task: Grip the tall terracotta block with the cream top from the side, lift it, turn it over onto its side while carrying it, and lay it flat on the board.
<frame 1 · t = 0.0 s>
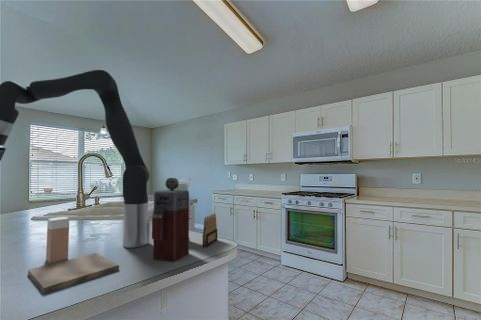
block: (57, 259, 81), on the counter
board: (74, 272, 70), on the counter
ammunition clip: (210, 244, 97), on the counter
skyscraper: (180, 243, 100), on the counter
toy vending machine: (169, 257, 82), on the counter
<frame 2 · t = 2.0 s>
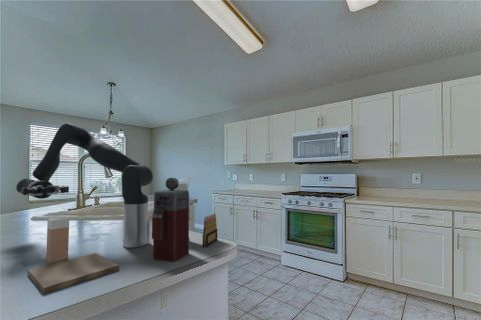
hand: (50, 191, 89), 23 cm above the counter, tool horizontal, fingers open, 8 cm apart
nothing on the counter moved.
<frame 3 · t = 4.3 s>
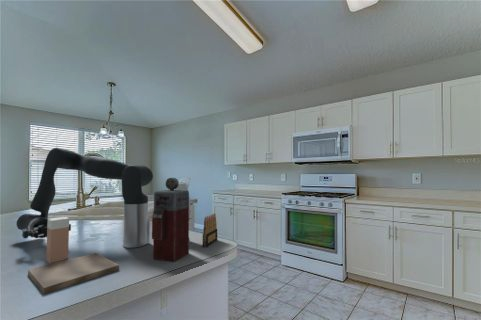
hand: (52, 232, 86), 8 cm above the counter, tool horizontal, fingers open, 8 cm apart
nothing on the counter moved.
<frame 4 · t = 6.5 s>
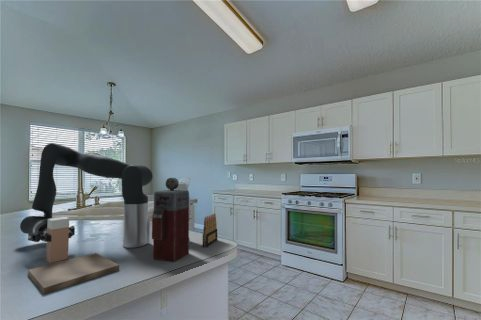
hand: (60, 236, 80), 8 cm above the counter, tool horizontal, fingers closed on block, 5 cm apart
block: (57, 259, 81), on the counter, touching gripper
everything else where it was.
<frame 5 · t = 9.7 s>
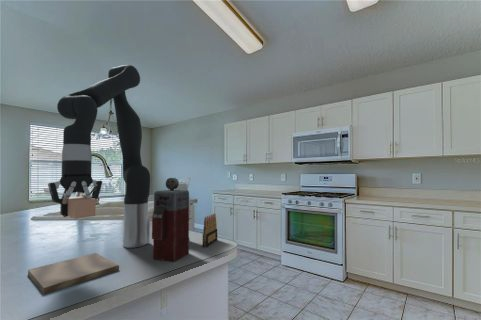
hand: (76, 214, 71), 17 cm above the counter, tool pointing down, fingers closed on block, 5 cm apart
block: (85, 208, 66), point 20 cm above the counter, tilted 91°, touching gripper
everything else where it was.
when the fingers open (3 cm above the counter, at t = 12.9 s): block drops 2 cm, resting on board.
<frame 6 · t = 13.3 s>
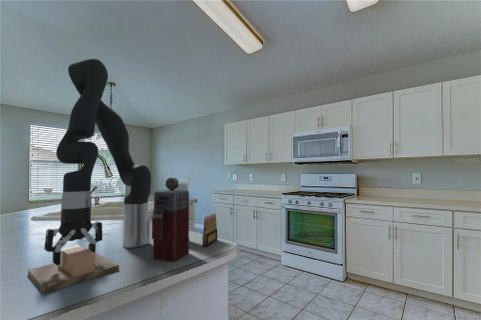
hand: (74, 260, 70), 4 cm above the counter, tool pointing down, fingers open, 8 cm apart
block: (85, 264, 65), point 4 cm above the counter, tilted 90°, touching board
everything else where it was.
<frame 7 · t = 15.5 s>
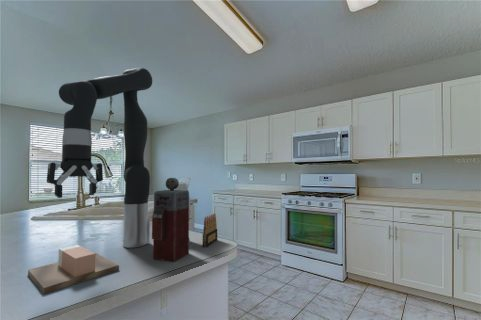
hand: (76, 196, 72), 23 cm above the counter, tool pointing down, fingers open, 8 cm apart
nothing on the counter moved.
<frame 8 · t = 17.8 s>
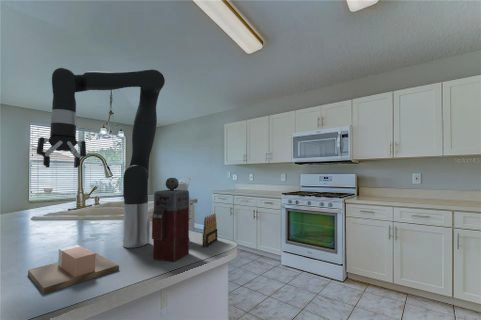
hand: (62, 167, 85), 32 cm above the counter, tool pointing down, fingers open, 8 cm apart
nothing on the counter moved.
at the end: block tilted 90°; block inside the target area on the board (8.1 cm from its centre), point 4.0 cm above the board's base; the gripper is holding nothing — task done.
